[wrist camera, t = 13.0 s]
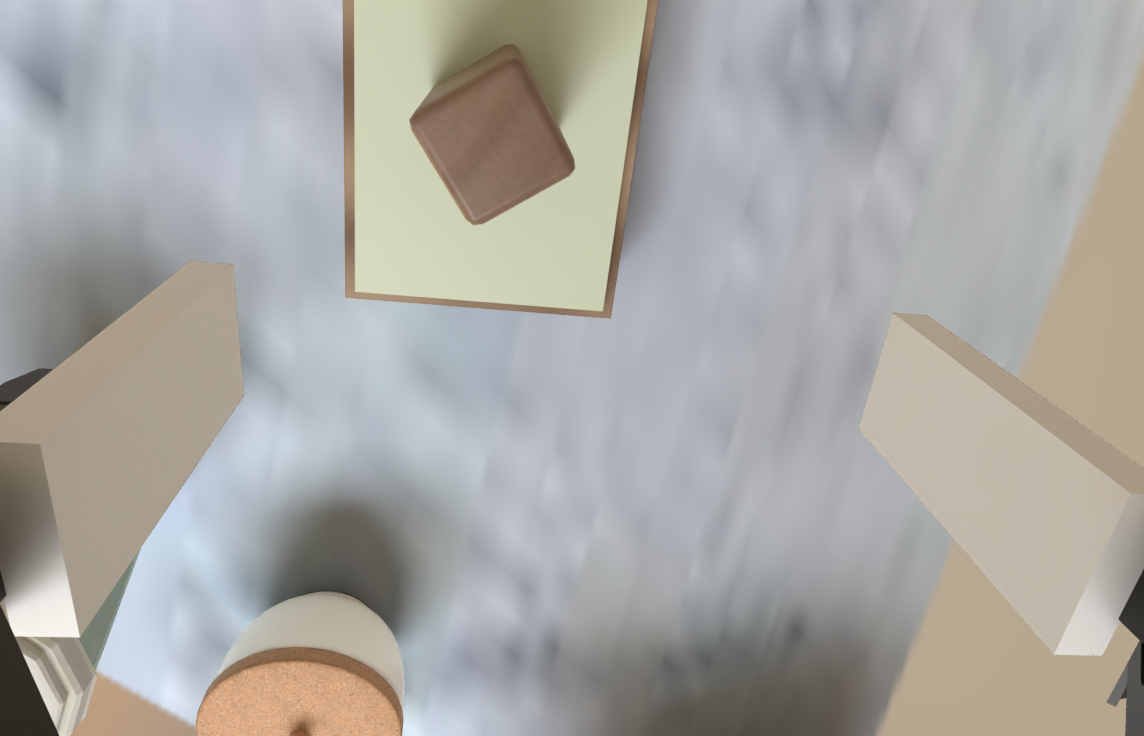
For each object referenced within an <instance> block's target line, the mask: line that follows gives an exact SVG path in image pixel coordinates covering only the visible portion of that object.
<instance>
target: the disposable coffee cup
mask: <svg viewBox="0 0 1144 736" xmlns="http://www.w3.org/2000/svg"><path fill="white" fill-rule="evenodd" d="M140 549H141V548H140ZM139 552H140V550H139V551H138V553H137V554H136V556H135V557H134V559H133V560H132V561H131V563H130V564H129V566H128V567H127V569H126V570H125V572H124V573H123V575H122V576H121V578H120V579H119V581H118V582H117V584H116V585H115V587H114V588H113V590H112V591H111V592H110V594H109V595H108V597H107V598H106V600H105V601H104V603H103V604H102V606H101V607H100V609H99V610H98V612H97V613H96V615H95V616H94V618H93V619H92V621H91V622H90V623H89V625H88V626H87V628H86V629H85V631H84V632H83V634H82V635H81V637H80V638H79V637H23V636H15V638H16V640H17V642H18V645H19V647H20V649H21V651H22V654H23V656H24V658H25V660H26V662H27V665H28V667H29V669H30V671H31V674H32V676H33V678H34V680H35V682H36V685H37V687H38V689H39V691H40V694H41V696H42V698H43V700H44V702H45V705H46V707H47V709H48V711H49V714H50V716H51V718H52V720H53V723H54V725H55V727H56V729H57V731H58V734H59V736H70V735H71V734H72V733H73V731H74V730H75V728H76V727H77V725H78V724H79V722H80V721H81V720H83V719H84V718H85V715H86V712H87V708H88V705H89V702H90V698H91V695H92V691H93V688H94V685H95V681H96V678H97V673H96V668H97V665H98V663H99V660H100V657H101V655H102V652H103V649H104V646H105V644H106V641H107V638H108V636H109V633H110V630H111V628H112V625H113V622H114V619H115V617H116V614H117V611H118V609H119V606H120V603H121V600H122V598H123V595H124V592H125V590H126V587H127V584H128V581H129V579H130V576H131V573H132V571H133V568H134V565H135V562H136V560H137V557H138V554H139ZM0 605H1V607H2V609H3V611H4V614H5V616H6V618H7V620H8V622H9V618H8V614H7V610H6V606H5V602H4V599H3V600H2V601H1V602H0ZM9 625H10V622H9ZM10 627H11V626H10Z"/></svg>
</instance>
